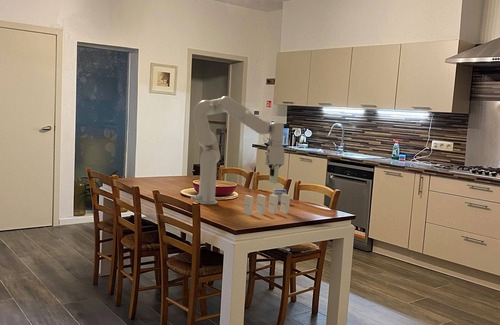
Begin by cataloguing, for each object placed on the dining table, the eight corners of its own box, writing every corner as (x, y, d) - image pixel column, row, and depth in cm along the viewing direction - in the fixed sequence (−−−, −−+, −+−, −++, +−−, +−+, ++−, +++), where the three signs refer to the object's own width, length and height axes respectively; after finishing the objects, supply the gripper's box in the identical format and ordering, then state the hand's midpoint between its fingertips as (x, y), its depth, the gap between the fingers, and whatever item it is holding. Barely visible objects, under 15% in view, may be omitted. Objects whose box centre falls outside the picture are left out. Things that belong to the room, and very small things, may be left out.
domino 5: (285, 213, 273) (287, 195, 272) (279, 211, 278) (281, 193, 277) (288, 213, 274) (290, 195, 273) (282, 211, 279) (284, 193, 278)
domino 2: (261, 214, 265) (263, 196, 264) (255, 212, 270) (257, 194, 269) (264, 214, 266) (266, 196, 265) (259, 212, 271) (260, 194, 270)
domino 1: (248, 215, 260) (250, 196, 259) (243, 213, 266) (244, 194, 265) (252, 215, 261) (253, 196, 260) (246, 212, 267) (247, 194, 266)
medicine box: (273, 203, 301) (274, 189, 300) (271, 202, 305) (272, 188, 304) (285, 203, 302) (287, 190, 302) (284, 202, 307) (285, 188, 306)
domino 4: (273, 214, 269) (275, 196, 268) (268, 211, 274) (269, 194, 273) (277, 213, 270) (278, 196, 269) (271, 211, 275) (272, 194, 274)
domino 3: (274, 183, 278) (275, 165, 277) (269, 181, 283) (270, 164, 282) (277, 183, 279) (278, 165, 278) (271, 181, 284) (273, 164, 283)
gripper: (267, 144, 271) (265, 177, 273) (291, 144, 279) (288, 176, 281) (260, 143, 278) (258, 175, 280) (283, 143, 286) (281, 174, 288)
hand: (273, 175), depth 281 cm, fingers closed on domino 3, 1 cm apart
